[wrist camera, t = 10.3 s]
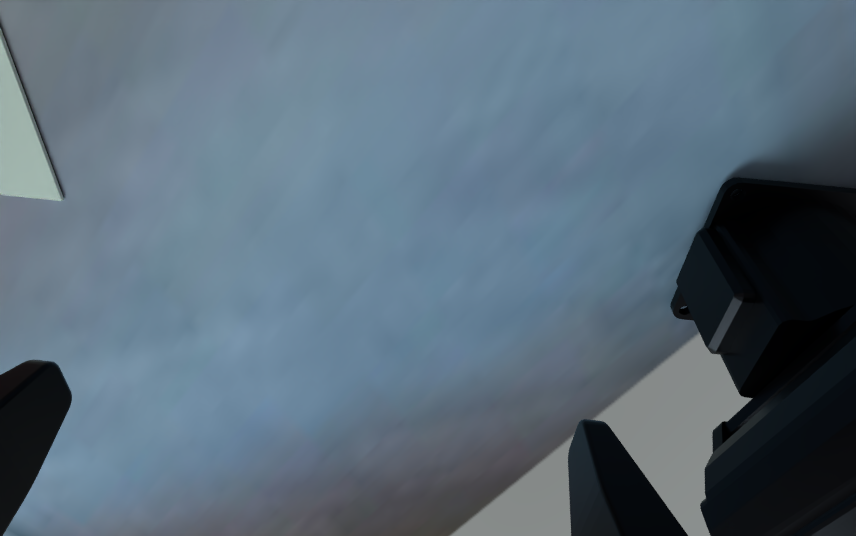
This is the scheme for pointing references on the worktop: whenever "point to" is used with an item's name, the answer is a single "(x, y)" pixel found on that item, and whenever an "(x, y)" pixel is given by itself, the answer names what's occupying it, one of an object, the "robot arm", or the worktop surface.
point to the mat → (21, 140)
